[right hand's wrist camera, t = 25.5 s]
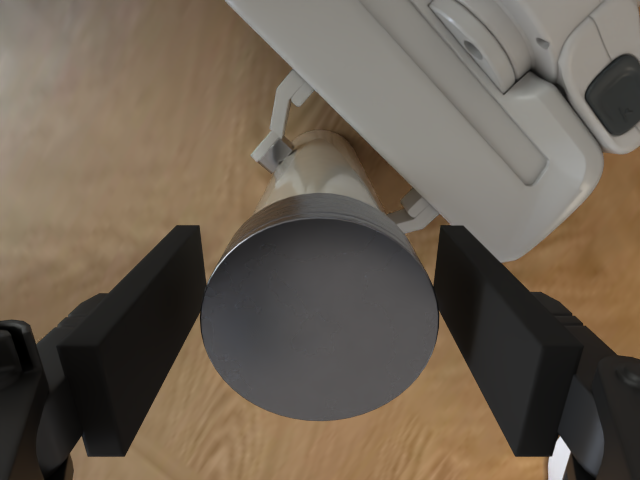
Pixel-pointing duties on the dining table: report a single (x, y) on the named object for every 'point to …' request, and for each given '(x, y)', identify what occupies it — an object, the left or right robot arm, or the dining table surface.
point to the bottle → (320, 171)
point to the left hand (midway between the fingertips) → (309, 205)
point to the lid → (319, 309)
